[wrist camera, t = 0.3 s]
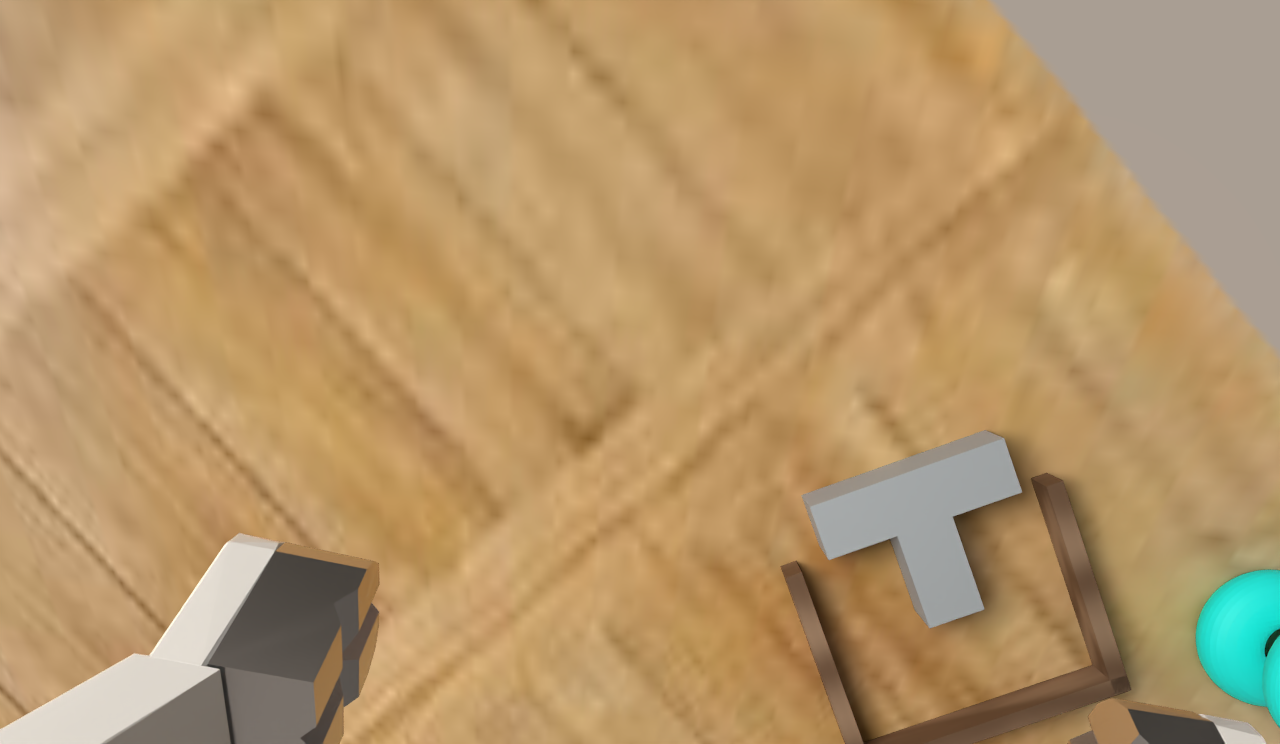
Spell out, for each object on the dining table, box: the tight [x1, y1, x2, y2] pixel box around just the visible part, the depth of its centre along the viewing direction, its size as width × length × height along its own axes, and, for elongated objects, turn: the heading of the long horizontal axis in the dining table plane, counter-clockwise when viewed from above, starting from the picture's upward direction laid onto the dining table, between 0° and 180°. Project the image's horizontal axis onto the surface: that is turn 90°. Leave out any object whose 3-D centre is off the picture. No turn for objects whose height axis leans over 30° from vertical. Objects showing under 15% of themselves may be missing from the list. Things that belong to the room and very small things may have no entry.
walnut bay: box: [781, 473, 1131, 744], centre depth 63 cm, size 16×20×2 cm
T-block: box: [801, 430, 1022, 628], centre depth 62 cm, size 11×14×4 cm
